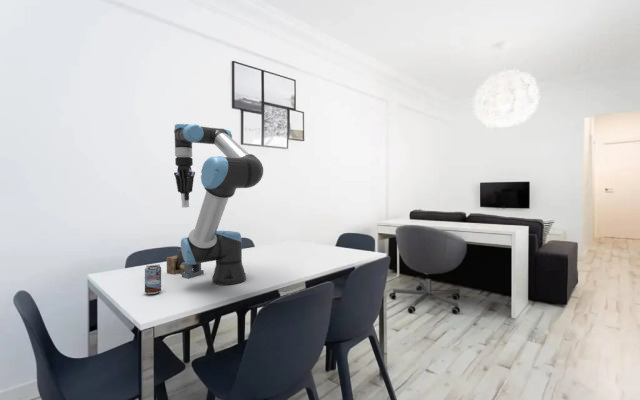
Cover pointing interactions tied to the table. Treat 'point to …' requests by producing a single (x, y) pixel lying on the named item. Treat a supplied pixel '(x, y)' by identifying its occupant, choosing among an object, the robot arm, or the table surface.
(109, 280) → the table surface
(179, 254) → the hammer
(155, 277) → the beverage can
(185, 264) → the grey slotted clamp block
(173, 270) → the socket block
